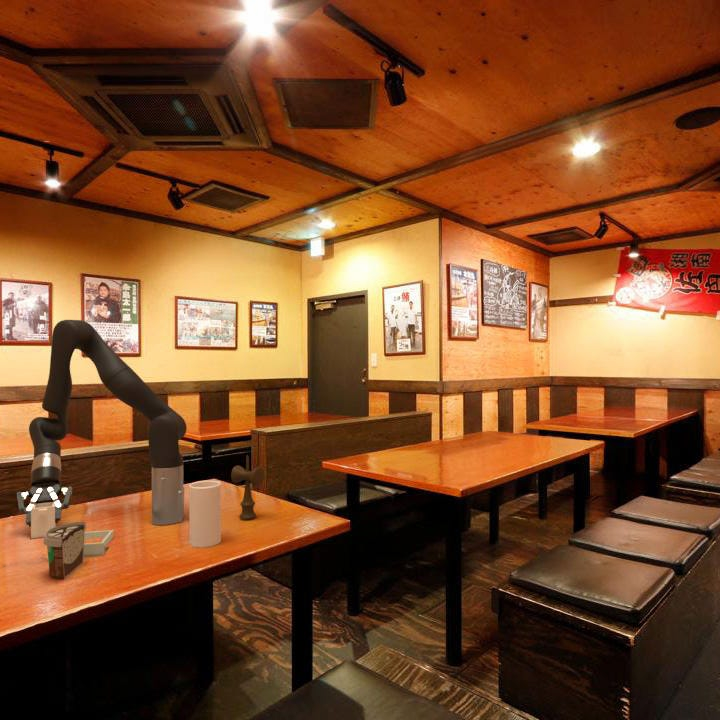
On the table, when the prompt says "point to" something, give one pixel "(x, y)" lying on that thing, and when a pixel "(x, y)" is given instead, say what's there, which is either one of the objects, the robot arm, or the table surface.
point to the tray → (100, 547)
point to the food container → (65, 548)
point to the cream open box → (42, 519)
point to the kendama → (247, 487)
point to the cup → (205, 513)
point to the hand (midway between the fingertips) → (43, 523)
